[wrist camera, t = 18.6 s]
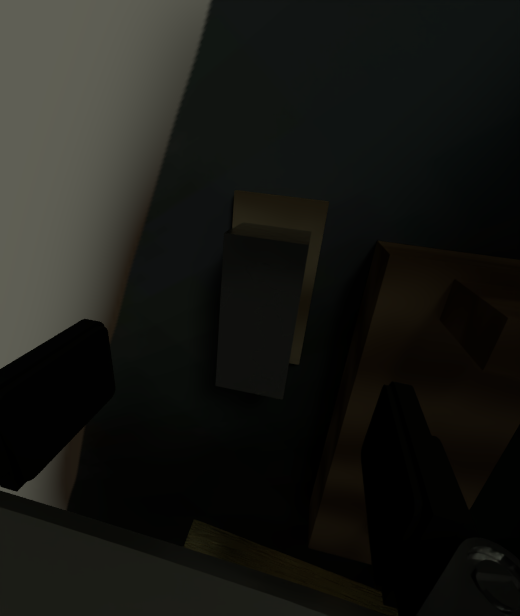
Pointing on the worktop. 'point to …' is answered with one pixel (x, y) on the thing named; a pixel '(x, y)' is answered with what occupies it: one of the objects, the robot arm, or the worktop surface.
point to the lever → (283, 566)
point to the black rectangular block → (259, 306)
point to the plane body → (423, 376)
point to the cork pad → (293, 217)
